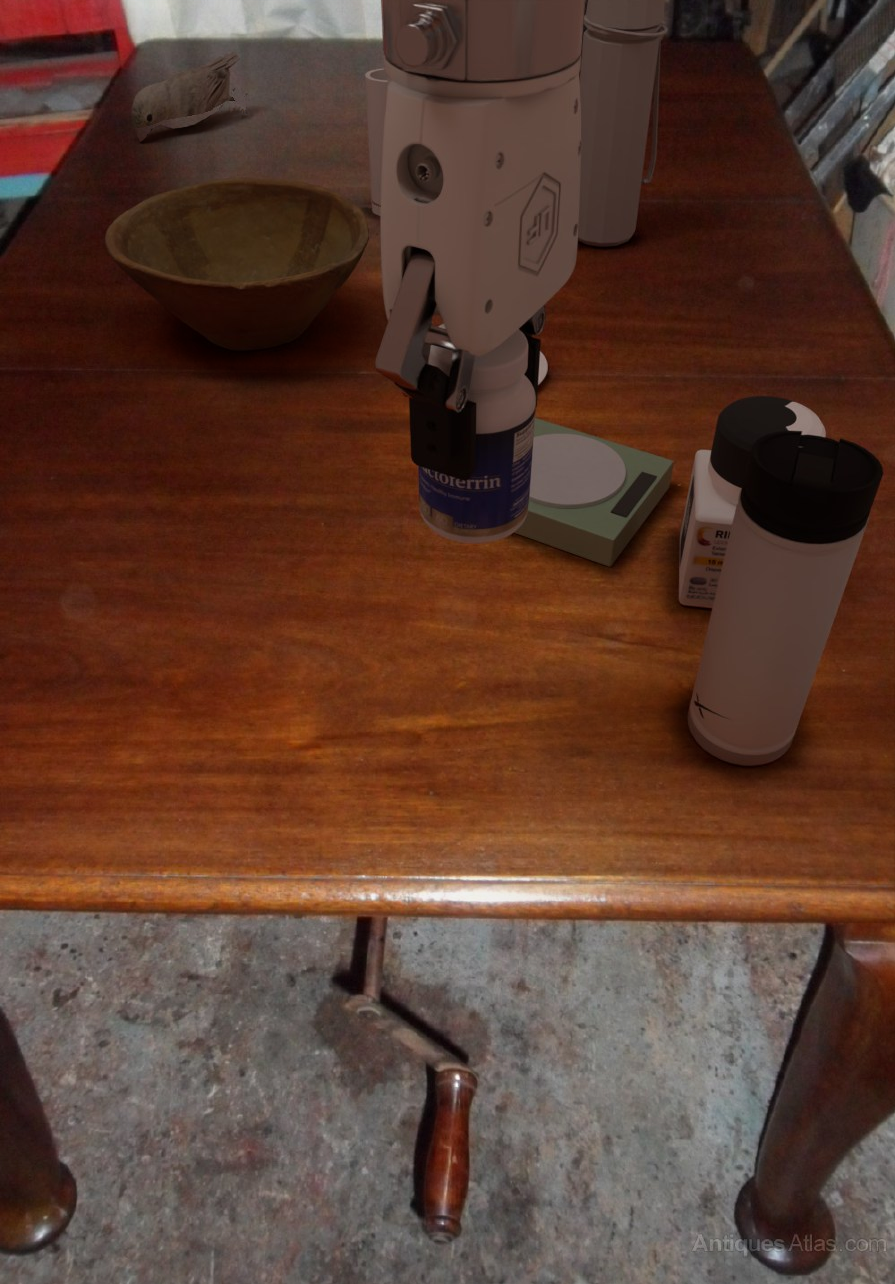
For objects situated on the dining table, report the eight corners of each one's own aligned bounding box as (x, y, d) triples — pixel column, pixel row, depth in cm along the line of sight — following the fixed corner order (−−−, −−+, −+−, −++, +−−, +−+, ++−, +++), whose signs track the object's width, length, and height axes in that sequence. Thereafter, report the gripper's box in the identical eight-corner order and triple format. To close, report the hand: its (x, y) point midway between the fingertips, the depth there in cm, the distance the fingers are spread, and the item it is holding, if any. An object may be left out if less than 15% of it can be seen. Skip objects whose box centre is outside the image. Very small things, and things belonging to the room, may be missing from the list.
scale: (669, 487, 82) (675, 456, 80) (610, 567, 75) (614, 535, 73) (530, 442, 86) (532, 411, 84) (462, 514, 79) (463, 483, 77)
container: (677, 607, 72) (710, 444, 63) (679, 536, 77) (709, 377, 68) (795, 619, 71) (845, 456, 62) (788, 547, 76) (833, 387, 67)
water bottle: (589, 256, 110) (615, -21, 93) (553, 227, 115) (572, -40, 98) (664, 241, 113) (704, -31, 95) (626, 213, 118) (657, -50, 101)
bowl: (240, 423, 88) (222, 311, 81) (83, 332, 99) (55, 226, 92) (422, 327, 100) (419, 222, 93) (263, 255, 111) (250, 156, 104)
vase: (473, 204, 120) (476, 3, 106) (469, 230, 115) (472, 23, 101) (374, 201, 121) (364, 0, 107) (365, 227, 116) (354, 21, 102)
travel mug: (676, 755, 63) (741, 476, 49) (697, 679, 67) (762, 403, 53) (784, 784, 61) (883, 504, 47) (798, 704, 65) (892, 426, 51)
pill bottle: (402, 534, 54) (395, 358, 47) (442, 473, 58) (440, 302, 51) (509, 559, 53) (517, 381, 46) (542, 495, 57) (555, 322, 50)
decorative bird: (127, 137, 135) (114, 74, 130) (232, 108, 143) (224, 47, 138) (150, 149, 132) (137, 84, 127) (255, 119, 140) (248, 57, 135)
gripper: (458, 110, 33) (457, 558, 46) (661, -15, 44) (615, 376, 56) (262, 73, 36) (313, 506, 48) (499, -36, 46) (490, 342, 59)
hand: (475, 433), depth 52 cm, fingers closed on pill bottle, 5 cm apart
